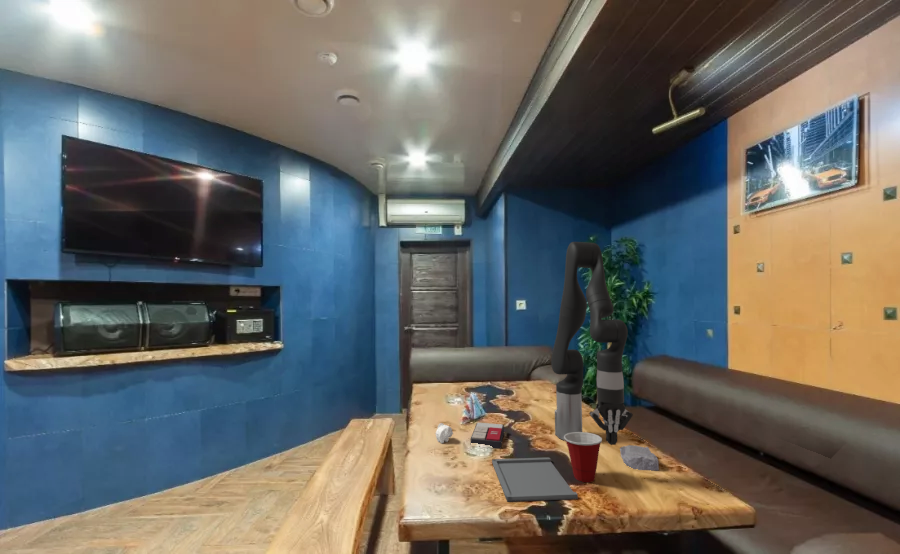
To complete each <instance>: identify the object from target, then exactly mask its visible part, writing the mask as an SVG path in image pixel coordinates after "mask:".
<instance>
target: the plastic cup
mask: <svg viewBox="0 0 900 554" xmlns="http://www.w3.org/2000/svg"><path fill="white" fill-rule="evenodd" d="M564 439H565V440H566V441H565V440H564V441H565V442H566V445H567V449H568V454H569V459H570V464H571V468H572V473H573V477H574V479H575V480H577V481H579V482H581V481H582V483H593V482H594V481H595V479H596V473H597V467H598V463H599V462H598V460H599V454H600V453H599V452H600V448H601V444H602V443H603V442H602V441H603V437H601V436H600V435H598V434H595V433H591V432H586V431H585V432H584V431H582V432H573V433H568V434H566V435H564Z"/></svg>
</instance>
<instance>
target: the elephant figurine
mask: <svg viewBox="0 0 900 554" xmlns="http://www.w3.org/2000/svg"><path fill="white" fill-rule="evenodd" d="M434 434H435V437H436V440H437V442H438V443H440V444H445V443H448V442H449V439H450V438H451V437H452V436H453V435H454V432H453V428H452V427H451V426H449V425H447V424H444V423H443V422H440V423H439V424H438V426H437V429H436V431H435V433H434Z"/></svg>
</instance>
